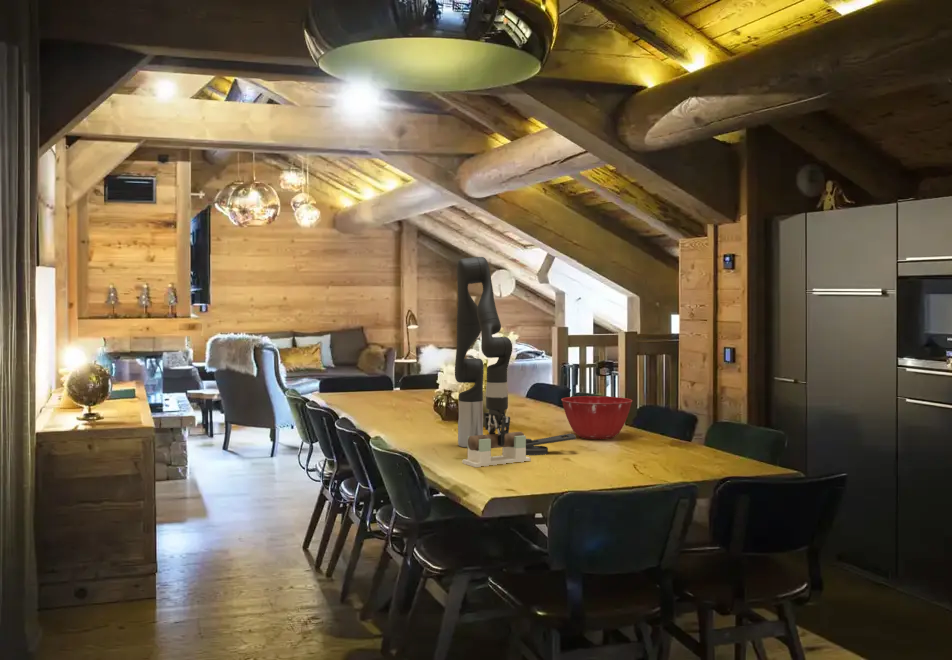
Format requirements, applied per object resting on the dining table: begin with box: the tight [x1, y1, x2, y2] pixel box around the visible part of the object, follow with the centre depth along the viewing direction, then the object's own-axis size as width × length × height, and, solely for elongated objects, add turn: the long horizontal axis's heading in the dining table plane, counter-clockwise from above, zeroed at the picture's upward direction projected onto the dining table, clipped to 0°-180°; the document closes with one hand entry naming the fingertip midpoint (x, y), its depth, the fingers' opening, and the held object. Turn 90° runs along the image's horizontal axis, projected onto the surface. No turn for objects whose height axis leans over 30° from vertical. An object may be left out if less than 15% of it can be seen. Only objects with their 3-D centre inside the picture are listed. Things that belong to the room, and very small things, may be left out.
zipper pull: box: [526, 433, 577, 456], centre depth 334 cm, size 9×7×25 cm
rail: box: [468, 431, 525, 450], centre depth 316 cm, size 20×5×5 cm, turn 120°
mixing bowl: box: [561, 395, 633, 440], centre depth 372 cm, size 28×28×15 cm
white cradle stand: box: [461, 434, 532, 468], centre depth 316 cm, size 22×9×9 cm, turn 120°
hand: (496, 444), depth 316 cm, fingers open, 5 cm apart
